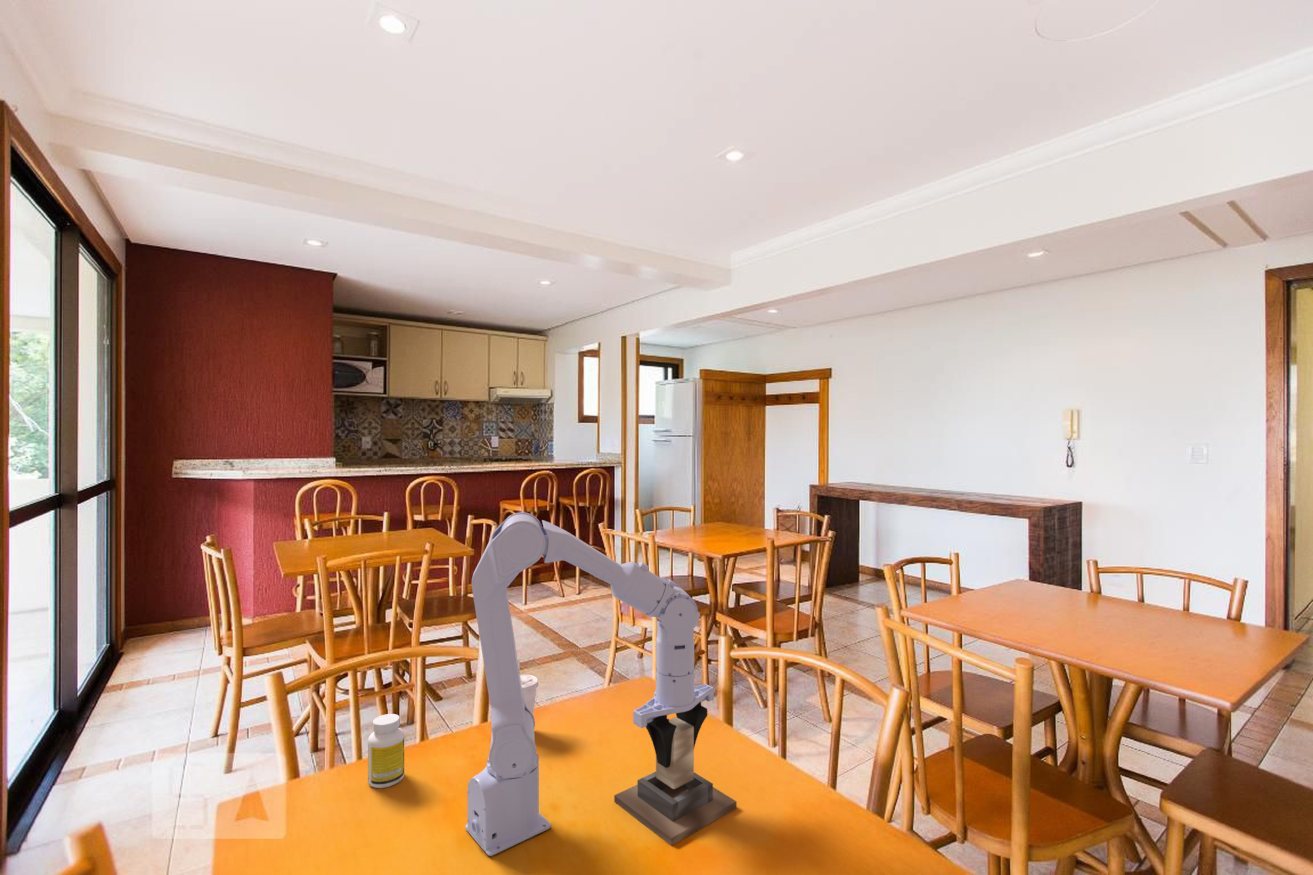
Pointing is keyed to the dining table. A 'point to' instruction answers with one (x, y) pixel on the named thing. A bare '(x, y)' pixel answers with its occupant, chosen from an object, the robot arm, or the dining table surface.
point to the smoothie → (529, 689)
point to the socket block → (675, 806)
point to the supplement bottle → (386, 752)
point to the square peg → (679, 756)
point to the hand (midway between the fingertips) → (675, 759)
